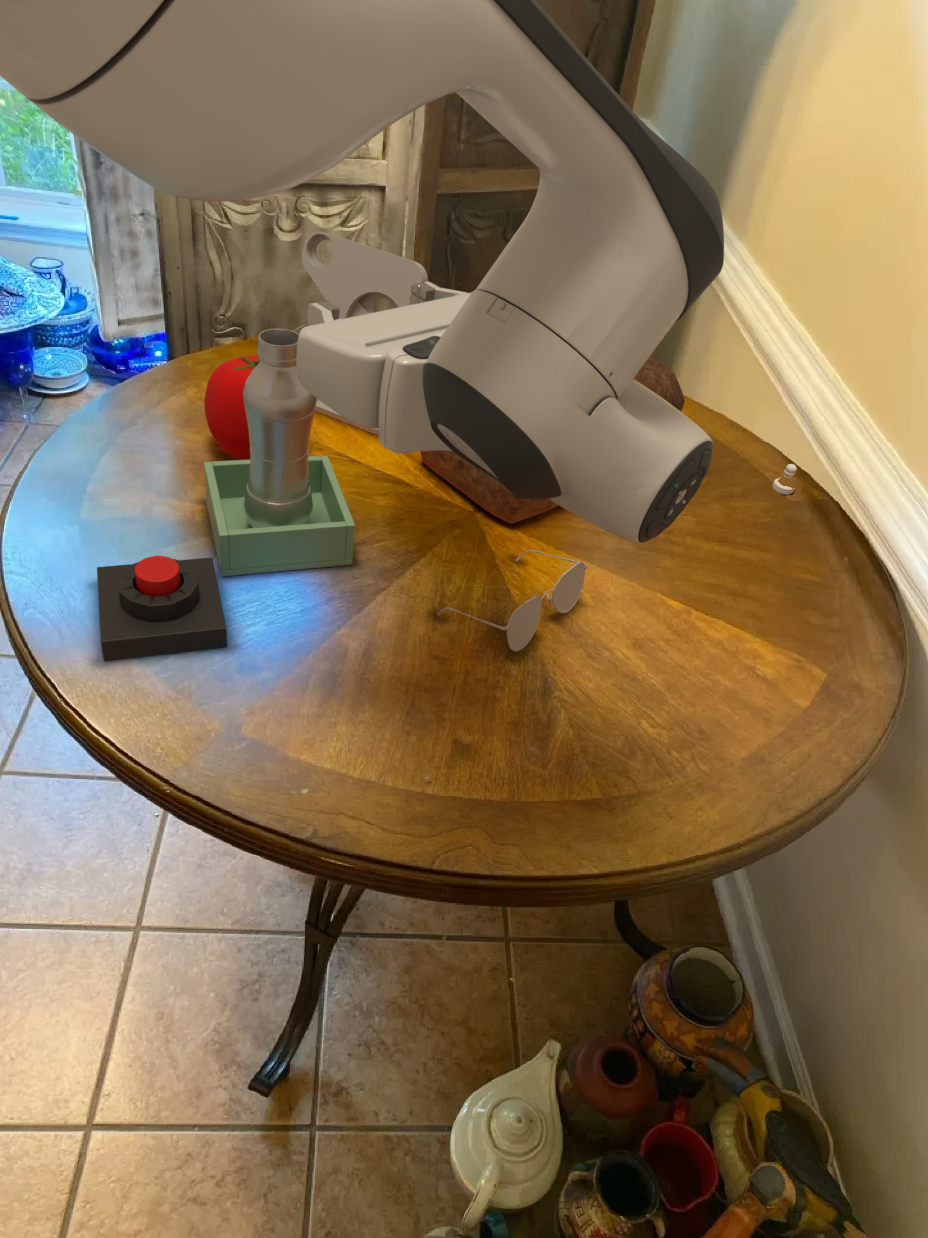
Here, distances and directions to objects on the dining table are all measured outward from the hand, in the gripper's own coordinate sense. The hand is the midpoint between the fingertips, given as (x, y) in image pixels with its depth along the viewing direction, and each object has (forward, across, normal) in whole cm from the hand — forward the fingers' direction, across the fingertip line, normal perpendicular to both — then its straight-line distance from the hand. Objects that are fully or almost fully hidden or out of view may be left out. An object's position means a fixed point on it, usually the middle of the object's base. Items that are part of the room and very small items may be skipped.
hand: (368, 301), depth 68 cm
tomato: (+27, -7, +29) cm, 40 cm away
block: (+7, +15, +29) cm, 33 cm away
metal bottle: (+12, 0, +28) cm, 30 cm away
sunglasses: (-10, -12, +29) cm, 33 cm away
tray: (+12, 0, +29) cm, 31 cm away
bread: (+7, -35, +29) cm, 46 cm away
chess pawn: (-12, -57, +28) cm, 65 cm away
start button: (+7, +15, +25) cm, 30 cm away
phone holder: (+31, -23, +29) cm, 48 cm away
